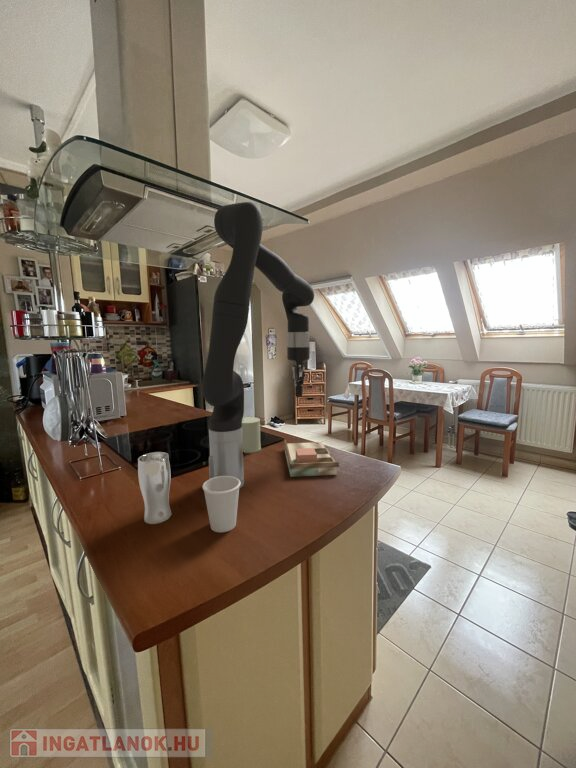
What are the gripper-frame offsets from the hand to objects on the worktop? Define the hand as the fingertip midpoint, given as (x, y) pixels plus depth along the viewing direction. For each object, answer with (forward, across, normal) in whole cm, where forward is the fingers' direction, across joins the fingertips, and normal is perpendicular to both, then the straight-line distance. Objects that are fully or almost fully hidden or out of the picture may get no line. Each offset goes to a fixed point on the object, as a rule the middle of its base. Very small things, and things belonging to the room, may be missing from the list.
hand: (298, 396), depth 109 cm
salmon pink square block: (+20, -10, -1) cm, 22 cm away
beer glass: (+22, -34, +38) cm, 56 cm away
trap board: (+22, -4, -3) cm, 22 cm away
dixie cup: (+22, -39, +22) cm, 50 cm away
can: (+22, +11, +18) cm, 31 cm away
